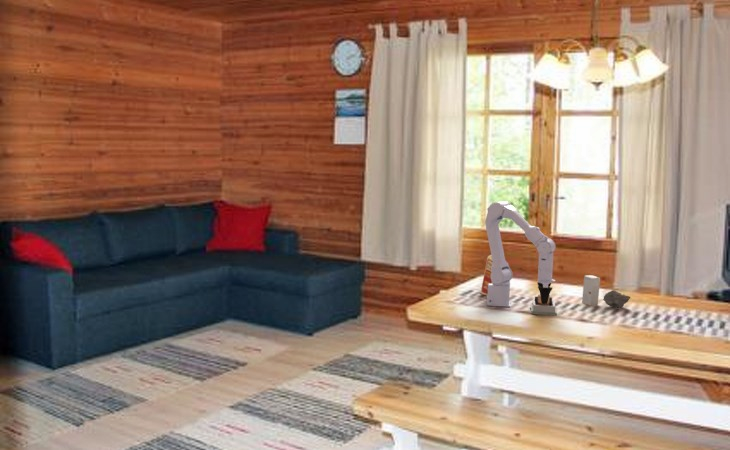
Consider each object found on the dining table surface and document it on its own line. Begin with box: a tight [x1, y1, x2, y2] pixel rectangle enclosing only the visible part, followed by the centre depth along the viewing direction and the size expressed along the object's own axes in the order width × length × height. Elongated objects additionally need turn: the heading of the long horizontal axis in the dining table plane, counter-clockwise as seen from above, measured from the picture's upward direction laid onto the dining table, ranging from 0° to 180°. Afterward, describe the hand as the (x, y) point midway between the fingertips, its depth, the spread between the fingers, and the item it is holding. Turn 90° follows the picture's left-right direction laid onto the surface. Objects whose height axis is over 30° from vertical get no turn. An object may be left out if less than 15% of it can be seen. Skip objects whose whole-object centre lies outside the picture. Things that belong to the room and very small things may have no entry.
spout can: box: [537, 293, 551, 306], centre depth 289 cm, size 5×5×6 cm
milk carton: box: [480, 254, 493, 297], centre depth 319 cm, size 9×9×20 cm
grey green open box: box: [530, 295, 558, 316], centre depth 290 cm, size 10×11×5 cm
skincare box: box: [581, 274, 601, 306], centre depth 304 cm, size 6×4×12 cm
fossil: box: [603, 289, 631, 309], centre depth 297 cm, size 11×9×8 cm
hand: (543, 301), depth 289 cm, fingers open, 7 cm apart
